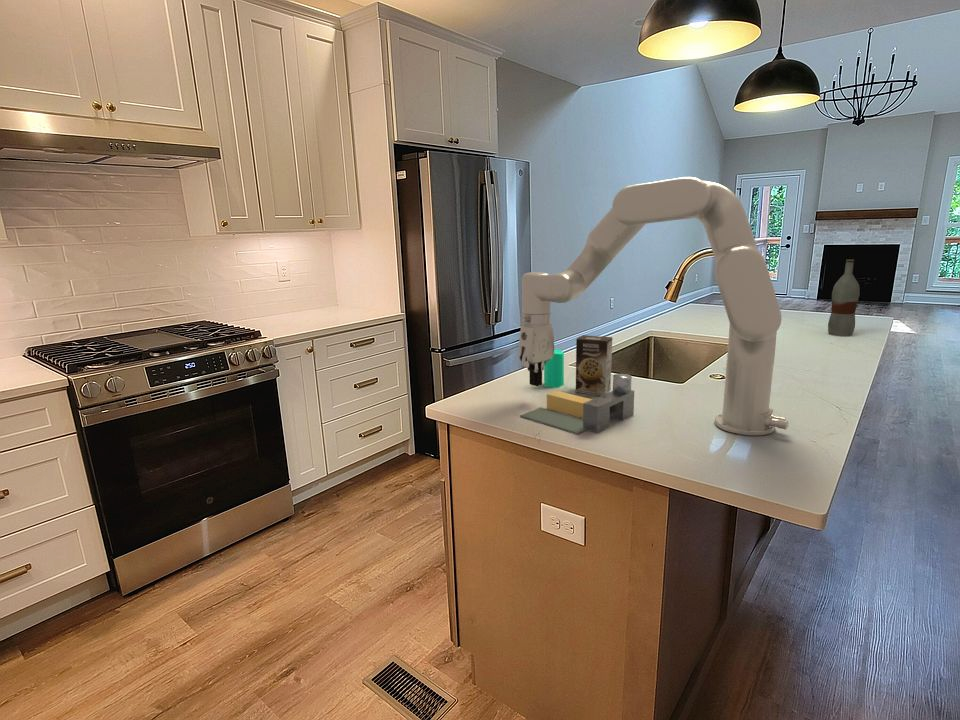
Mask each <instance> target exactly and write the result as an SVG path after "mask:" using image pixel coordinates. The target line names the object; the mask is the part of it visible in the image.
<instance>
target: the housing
mask: <svg viewBox="0 0 960 720" xmlns="http://www.w3.org/2000/svg"><path fill="white" fill-rule="evenodd" d="M591 399H592V400H590V401H588V402H585V403H583V418H582V419H583V428H586V429H587V430H586V431H589V432H591V433H595V434H599V433H601V432H602V431H605V430H607V429H608V428H610V418H613V419H616V420H619V421H624V420H626V419H629V418H631V417H633V416H634V414H635V413H634V411H635V409H634V408H635V390H633V389H632V375H631V374H628V373H616V374H614V375H613V376H612V391H611V390H610V391H609V392H608V393H607V394H604V395H599V396H598V397H595V398H591Z"/></svg>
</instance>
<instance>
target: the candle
mask: <svg viewBox="0 0 960 720" xmlns="http://www.w3.org/2000/svg"><path fill="white" fill-rule="evenodd" d="M564 360H565V352H564V351H563V350H561V349H554V356H553V358H551V359H550V360H549V361H548V362H546V363H545V365H544V370H543V385H544V387H546V388H552V387H555V388H561V387H560V386H562V385H563V386H564V384H565V380H564V379H565V378H564V377H565V376H564V375H565V373H564V370H565V364H564V363H565V361H564ZM563 386H562V387H563Z"/></svg>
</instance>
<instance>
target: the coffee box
mask: <svg viewBox="0 0 960 720" xmlns="http://www.w3.org/2000/svg"><path fill="white" fill-rule="evenodd" d="M575 344H576V346H575V349H576V350H575V353H576V354H575V355H576V356H575V357H576V358H575V393H577V392H579V393H578V394H586V395H587V394H588V395H596V396H602V395H604V394H607V393H609V392H611V390H612V389H611V383H612V382H611V381H612V360H613V357H612V353H613V337H612V336H601V335H600V336H599V335H598V336H597V335H585V334H583V335H580V336H578V337H577V338H576V343H575Z"/></svg>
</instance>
